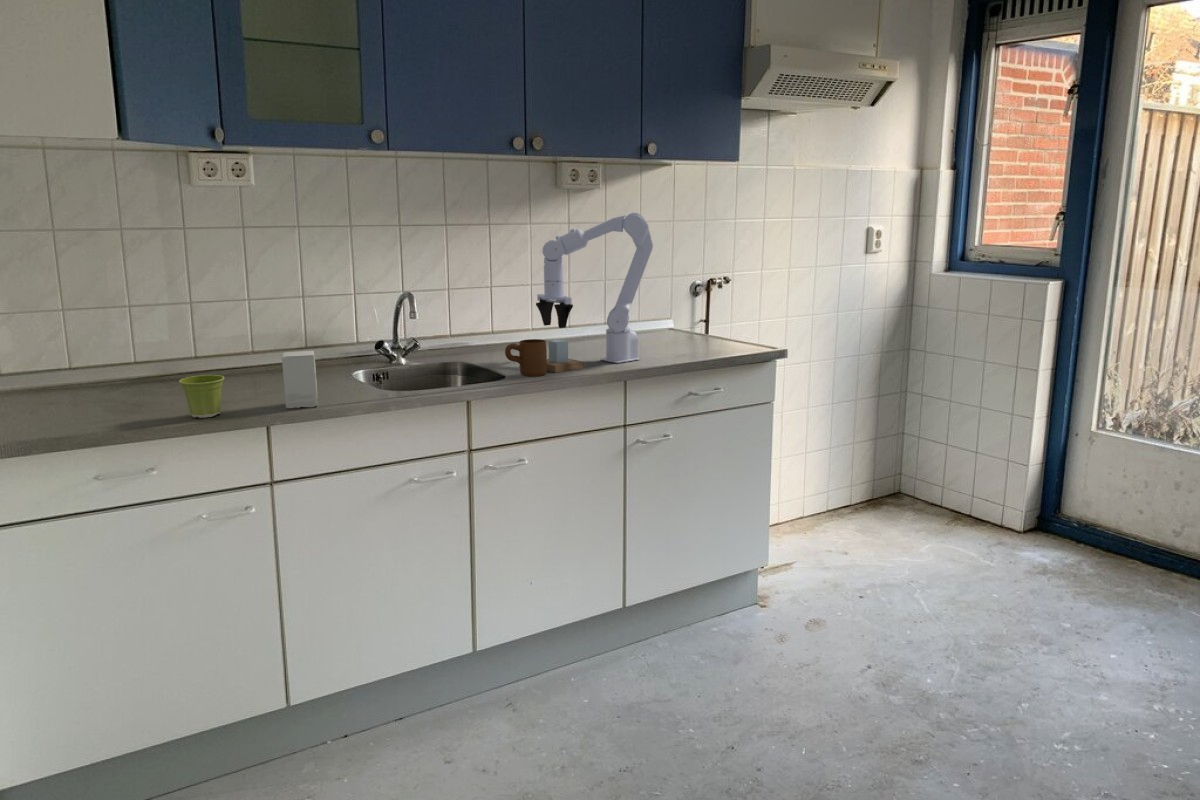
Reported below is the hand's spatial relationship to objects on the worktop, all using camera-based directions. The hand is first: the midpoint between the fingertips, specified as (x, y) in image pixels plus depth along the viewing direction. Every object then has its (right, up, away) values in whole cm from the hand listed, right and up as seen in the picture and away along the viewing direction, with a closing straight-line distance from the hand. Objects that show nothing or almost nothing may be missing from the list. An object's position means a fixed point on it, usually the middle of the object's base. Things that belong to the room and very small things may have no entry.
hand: (554, 326), depth 269 cm
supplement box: (-58, -24, -55) cm, 83 cm away
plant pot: (-76, -26, -65) cm, 104 cm away
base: (+2, -13, -10) cm, 17 cm away
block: (+2, -11, -11) cm, 16 cm away
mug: (-7, -15, -20) cm, 26 cm away
